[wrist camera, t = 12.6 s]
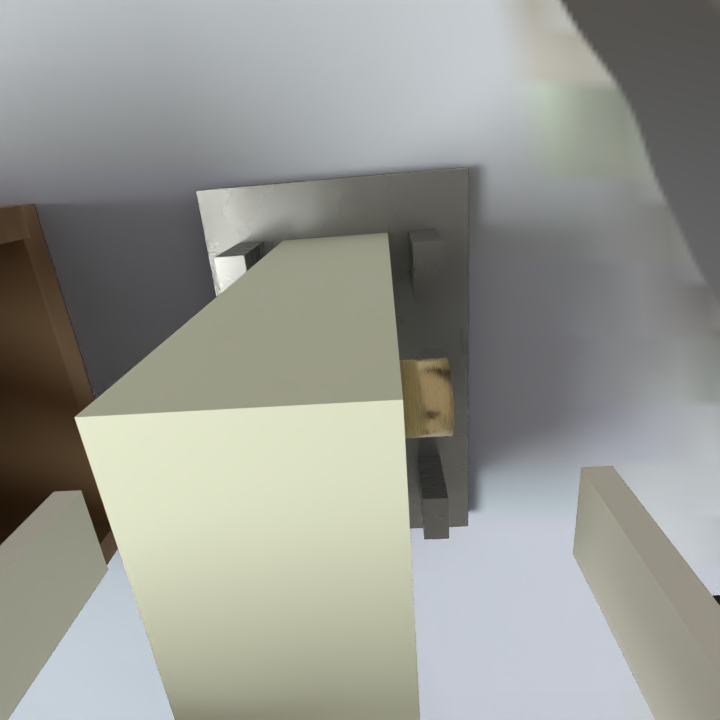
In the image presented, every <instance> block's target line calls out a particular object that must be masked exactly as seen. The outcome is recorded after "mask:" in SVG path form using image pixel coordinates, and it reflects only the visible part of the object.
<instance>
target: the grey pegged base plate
mask: <svg viewBox="0 0 720 720" xmlns="http://www.w3.org/2000/svg"><path fill="white" fill-rule="evenodd" d="M196 193H197V199H198V204H199V209H200V214H201V219H202V225H203V230H204V235H205V240H206V245H207V251H208V256H209V261H210V266H211V271H212V277H213V282H214V287H215V292H216V297H217V296H218V295H219V294H221V293H222V292H223V291H224V290H225V289H227V288H228V287H229V286H230V285H231V284H232V283H234V282H235V281H236V280H237V279H238V278H240V277H241V276H242V275H243V274H244V273H245V272H247V271H248V270H249V269H250V268H251V267H253V266H254V265H255V264H256V263H257V262H258V261H260V260H261V259H262V258H263V257H264V256H266V255H267V254H268V253H269V252H270V251H271V250H273V249H274V248H275V247H276V246H277V245H278V244H280V243H281V242H282V241H284V240H297V239H310V238H324V237H337V236H350V235H363V234H376V233H388V241H389V252H390V263H391V274H392V285H393V296H394V307H395V318H396V329H397V339H398V350H399V360H413V359H430V358H447V359H448V362H449V366H450V372H451V380H452V389H453V404H454V429H453V435H452V436H442V437H422V438H405V447H406V465H407V484H408V503H409V522H410V528H423V531H424V539H448V538H449V527H460V526H468V168H454V169H443V170H431V171H419V172H407V173H395V174H383V175H371V176H359V177H348V178H336V179H324V180H312V181H300V182H288V183H276V184H264V185H253V186H241V187H229V188H217V189H205V190H199V191H196Z"/></svg>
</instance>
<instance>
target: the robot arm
mask: <svg viewBox="0 0 720 720" xmlns="http://www.w3.org/2000/svg"><path fill="white" fill-rule="evenodd" d="M573 555H574V557H575V559H576V561H577V563H578V565H579V567H580V569H581V571H582V573H583V575H584V577H585V579H586V581H587V583H588V585H589V587H590V589H591V591H592V593H593V595H594V597H595V599H596V601H597V603H598V605H599V607H600V609H601V611H602V613H603V615H604V617H605V619H606V621H607V623H608V625H609V627H610V629H611V631H612V633H613V635H614V638H615V640H616V642H617V644H618V646H619V648H620V650H621V652H622V654H623V656H624V658H625V660H626V662H627V664H628V666H629V668H630V670H631V672H632V674H633V676H634V678H635V680H636V682H637V684H638V686H639V688H640V690H641V692H642V694H643V696H644V698H645V700H646V702H647V704H648V706H649V708H650V710H651V712H652V714H653V716H654V718H655V720H720V595H716V596H712V595H711V594H710V592H709V591H708V590H707V588H706V587H705V586H704V584H703V583H702V582H701V581H700V579H699V578H698V577H697V575H696V574H695V573H694V571H693V570H692V569H691V568H690V566H689V565H688V564H687V562H686V561H685V560H684V558H683V557H682V556H681V555H680V553H679V552H678V551H677V549H676V548H675V547H674V545H673V544H672V543H671V542H670V540H669V539H668V538H667V536H666V535H665V534H664V532H663V531H662V530H661V529H660V527H659V526H658V525H657V523H656V522H655V521H654V519H653V518H652V517H651V516H650V514H649V513H648V512H647V510H646V509H645V508H644V506H643V505H642V504H641V503H640V501H639V500H638V499H637V497H636V496H635V495H634V493H633V492H632V491H631V489H630V488H629V487H628V486H627V484H626V483H625V482H624V480H623V479H622V478H621V476H620V475H619V474H618V473H617V471H616V470H615V469H614V467H613V466H604V467H582V468H581V476H580V486H579V496H578V507H577V517H576V528H575V538H574V548H573ZM107 571H108V568H107V565H106V562H105V559H104V556H103V553H102V550H101V547H100V544H99V541H98V538H97V536H96V533H95V530H94V527H93V524H92V521H91V518H90V515H89V512H88V509H87V506H86V503H85V500H84V497H83V494H82V491H81V490H78V491H56V492H53V493H52V494H51V495H50V496H49V497H48V498H47V499H46V500H45V501H44V502H43V503H42V504H41V505H40V506H39V507H38V508H37V509H36V510H35V511H34V512H33V513H32V514H31V515H30V516H29V517H28V518H27V519H26V520H25V521H24V522H23V523H22V524H21V525H20V526H19V527H18V528H17V529H16V530H15V531H14V532H13V533H12V534H11V535H10V536H9V537H8V538H7V539H6V540H5V541H4V542H3V543H2V544H1V545H0V720H8V719H9V717H10V716H11V714H12V713H13V711H14V710H15V708H16V707H17V705H18V704H19V702H20V701H21V699H22V698H23V696H24V695H25V693H26V692H27V690H28V689H29V687H30V686H31V684H32V683H33V681H34V680H35V678H36V677H37V675H38V674H39V672H40V671H41V669H42V668H43V666H44V665H45V663H46V662H47V661H48V659H49V658H50V656H51V655H52V653H53V652H54V650H55V649H56V647H57V646H58V644H59V643H60V641H61V640H62V638H63V637H64V635H65V634H66V632H67V631H68V629H69V628H70V626H71V625H72V623H73V622H74V620H75V619H76V617H77V616H78V614H79V613H80V611H81V610H82V608H83V607H84V605H85V604H86V602H87V601H88V599H89V598H90V596H91V595H92V593H93V592H94V590H95V589H96V587H97V586H98V584H99V583H100V581H101V580H102V578H103V577H104V575H105V574H106V572H107Z"/></svg>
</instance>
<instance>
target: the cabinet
mask: <svg viewBox="0 0 720 720" xmlns="http://www.w3.org/2000/svg"><path fill="white" fill-rule="evenodd" d="M93 401H94V396H93V393H92V390H91V387H90V383H89V380H88V377H87V374H86V371H85V367H84V364H83V361H82V358H81V354H80V351H79V348H78V345H77V342H76V338H75V335H74V332H73V329H72V326H71V322H70V319H69V316H68V313H67V309H66V306H65V303H64V300H63V297H62V293H61V290H60V287H59V284H58V281H57V277H56V274H55V271H54V268H53V264H52V261H51V258H50V255H49V252H48V248H47V245H46V242H45V239H44V236H43V232H42V229H41V226H40V223H39V219H38V216H37V213H36V210H35V207H34V204H27V205H15V206H3V207H0V545H1V544H2V543H3V542H4V541H5V540H6V539H7V538H8V537H9V536H10V535H11V534H12V533H13V532H14V531H15V530H16V529H17V528H18V527H19V526H20V525H21V524H22V523H23V522H24V521H25V520H26V519H27V518H28V517H29V516H30V515H31V514H32V513H33V512H34V511H35V510H36V509H37V508H38V507H39V506H40V505H41V504H42V503H43V502H44V501H45V500H46V499H47V498H48V497H49V496H50V495H51V494H52V493H53V492H56V491H78V490H81V491H82V494H83V497H84V500H85V503H86V506H87V509H88V512H89V515H90V518H91V521H92V524H93V527H94V530H95V533H96V536H97V538H98V541H99V544H100V547H101V550H102V553H103V556H104V559H105V562H106V565H107V564H108V563H109V561H110V560H111V558H112V557H113V555H114V554H115V552H116V551H117V549H118V547H117V544H116V541H115V538H114V535H113V532H112V529H111V526H110V523H109V520H108V517H107V514H106V511H105V508H104V505H103V502H102V499H101V496H100V493H99V490H98V487H97V484H96V481H95V478H94V475H93V472H92V469H91V466H90V463H89V460H88V457H87V454H86V451H85V448H84V445H83V442H82V439H81V436H80V433H79V430H78V427H77V424H76V421H75V418H74V417H75V416H77V415H78V414H79V413H80V412H81V411H83V410H84V409H85V408H86V407H87V406H88V405H90V404H91V403H92V402H93Z"/></svg>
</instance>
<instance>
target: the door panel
mask: <svg viewBox="0 0 720 720" xmlns="http://www.w3.org/2000/svg"><path fill="white" fill-rule="evenodd" d="M74 418H75V421H76V424H77V427H78V430H79V433H80V436H81V439H82V442H83V445H84V448H85V451H86V454H87V457H88V460H89V463H90V466H91V469H92V472H93V475H94V478H95V481H96V484H97V487H98V490H99V493H100V496H101V499H102V502H103V505H104V508H105V511H106V514H107V517H108V520H109V523H110V526H111V529H112V532H113V535H114V538H115V541H116V544H117V547H118V550H119V553H120V556H121V559H122V562H123V565H124V568H125V571H126V574H127V577H128V580H129V583H130V586H131V589H132V592H133V595H134V598H135V601H136V604H137V607H138V610H139V613H140V616H141V619H142V622H143V625H144V628H145V631H146V634H147V637H148V640H149V643H150V646H151V649H152V652H153V655H154V658H155V661H156V664H157V667H158V670H159V673H160V676H161V679H162V682H163V685H164V688H165V691H166V694H167V697H168V700H169V703H170V706H171V709H172V712H173V715H174V718H175V720H420V710H419V691H418V672H417V653H416V634H415V616H414V597H413V578H412V559H411V540H410V522H409V503H408V484H407V465H406V447H405V438H422V437H442V436H452V435H453V429H454V404H453V389H452V380H451V372H450V366H449V362H448V359H447V358H430V359H413V360H399V350H398V339H397V329H396V318H395V307H394V296H393V285H392V274H391V263H390V252H389V241H388V233H376V234H363V235H350V236H337V237H324V238H310V239H297V240H284V241H282V242H281V243H280V244H278V245H277V246H276V247H275V248H274V249H273V250H271V251H270V252H269V253H268V254H267V255H266V256H264V257H263V258H262V259H261V260H260V261H258V262H257V263H256V264H255V265H254V266H253V267H251V268H250V269H249V270H248V271H247V272H245V273H244V274H243V275H242V276H241V277H240V278H238V279H237V280H236V281H235V282H234V283H232V284H231V285H230V286H229V287H228V288H227V289H225V290H224V291H223V292H222V293H221V294H219V295H218V296H217V297H216V298H215V299H214V300H212V301H211V302H210V303H209V304H208V305H206V306H205V307H204V308H203V309H202V310H201V311H199V312H198V313H197V314H196V315H195V316H194V317H192V318H191V319H190V320H189V321H188V322H186V323H185V324H184V325H183V326H182V327H181V328H179V329H178V330H177V331H176V332H175V333H173V334H172V335H171V336H170V337H169V338H168V339H166V340H165V341H164V342H163V343H162V344H160V345H159V346H158V347H157V348H156V349H155V350H153V351H152V352H151V353H150V354H149V355H147V356H146V357H145V358H144V359H143V360H142V361H140V362H139V363H138V364H137V365H136V366H134V367H133V368H132V369H131V370H130V371H129V372H127V373H126V374H125V375H124V376H123V377H122V378H120V379H119V380H118V381H117V382H116V383H114V384H113V385H112V386H111V387H110V388H109V389H107V390H106V391H105V392H104V393H103V394H101V395H100V396H99V397H98V398H97V399H96V400H94V401H93V402H92V403H91V404H90V405H88V406H87V407H86V408H85V409H84V410H83V411H81V412H80V413H79V414H78V415H77V416H75V417H74Z"/></svg>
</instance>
